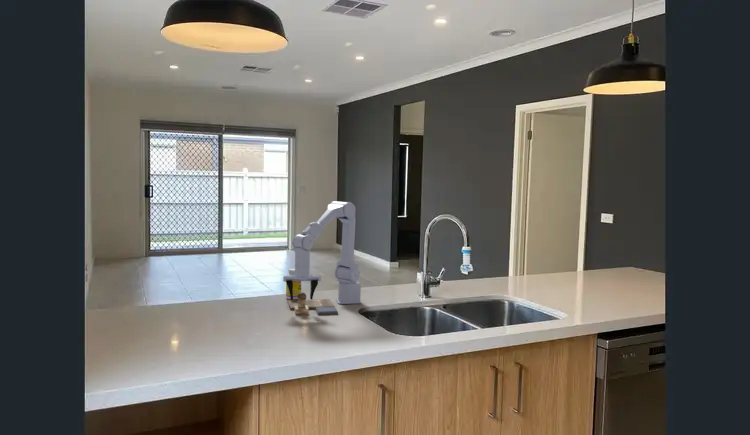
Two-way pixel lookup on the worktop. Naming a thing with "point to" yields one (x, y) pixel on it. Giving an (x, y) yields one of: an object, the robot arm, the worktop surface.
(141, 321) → the worktop surface
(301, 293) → the stamp
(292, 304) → the board
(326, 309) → the ink pad
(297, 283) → the supplement bottle
